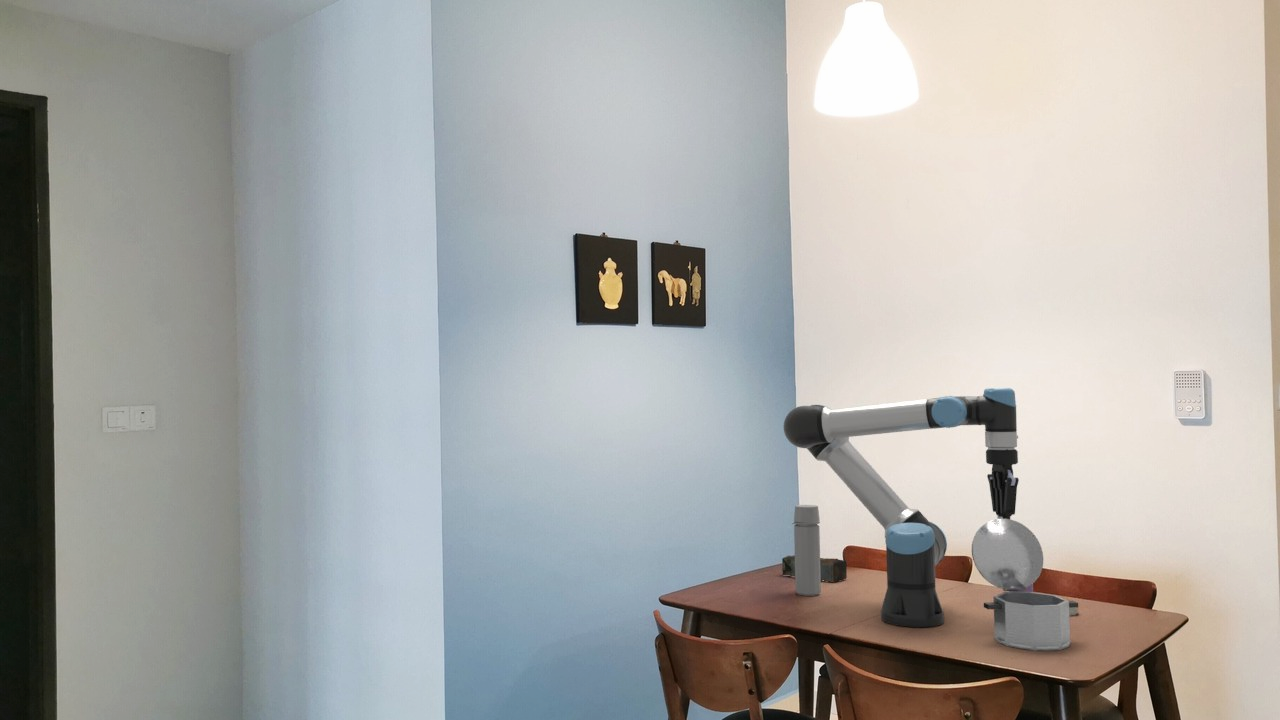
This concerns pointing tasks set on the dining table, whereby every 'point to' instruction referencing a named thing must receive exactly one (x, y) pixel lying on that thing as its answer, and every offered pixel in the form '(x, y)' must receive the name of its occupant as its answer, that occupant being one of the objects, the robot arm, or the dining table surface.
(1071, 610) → the grey block
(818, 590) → the water bottle
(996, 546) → the lid
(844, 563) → the beverage carton
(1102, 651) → the dining table surface
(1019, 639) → the pot
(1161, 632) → the dining table surface
